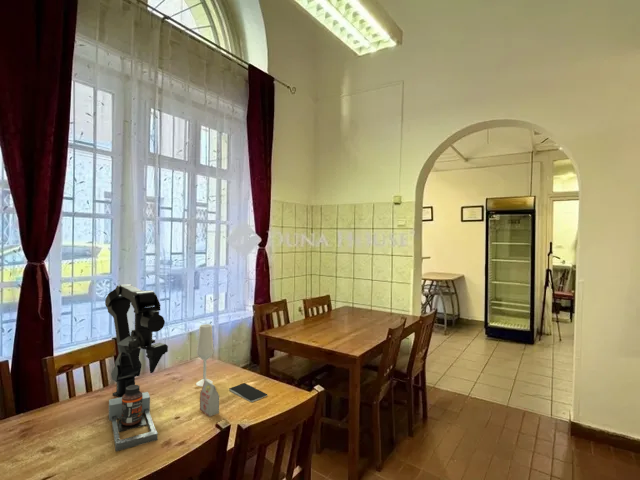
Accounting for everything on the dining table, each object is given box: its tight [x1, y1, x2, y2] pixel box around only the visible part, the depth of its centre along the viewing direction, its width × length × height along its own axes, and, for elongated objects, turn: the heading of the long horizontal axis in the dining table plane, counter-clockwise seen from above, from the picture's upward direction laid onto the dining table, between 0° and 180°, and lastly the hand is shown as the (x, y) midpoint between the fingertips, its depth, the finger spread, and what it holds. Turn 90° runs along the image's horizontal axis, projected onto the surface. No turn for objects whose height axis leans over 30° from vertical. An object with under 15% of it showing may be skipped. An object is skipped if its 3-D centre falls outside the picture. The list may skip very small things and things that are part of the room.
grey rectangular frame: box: [111, 408, 159, 452], centre depth 110 cm, size 20×11×2 cm, turn 34°
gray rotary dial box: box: [108, 391, 151, 422], centre depth 121 cm, size 5×12×6 cm, turn 123°
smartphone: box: [228, 382, 268, 403], centre depth 138 cm, size 8×1×15 cm
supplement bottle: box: [120, 384, 143, 426], centre depth 114 cm, size 6×6×11 cm
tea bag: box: [199, 380, 220, 417], centre depth 123 cm, size 4×7×10 cm, turn 45°
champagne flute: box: [195, 323, 214, 387], centre depth 147 cm, size 7×7×24 cm
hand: (142, 370), depth 125 cm, fingers open, 9 cm apart
